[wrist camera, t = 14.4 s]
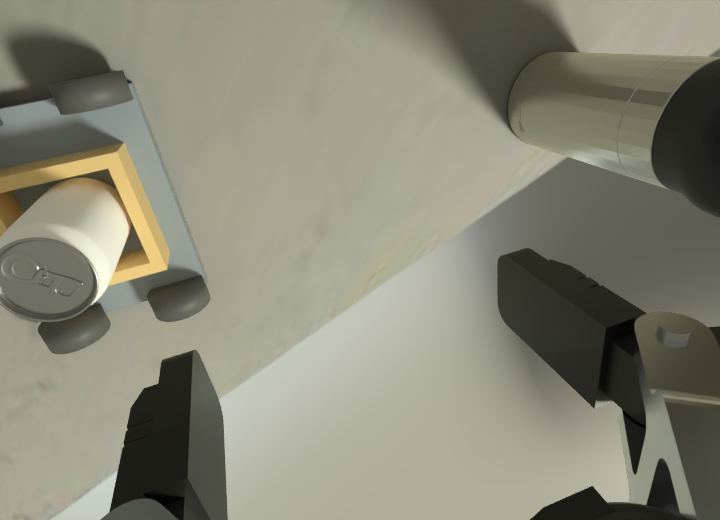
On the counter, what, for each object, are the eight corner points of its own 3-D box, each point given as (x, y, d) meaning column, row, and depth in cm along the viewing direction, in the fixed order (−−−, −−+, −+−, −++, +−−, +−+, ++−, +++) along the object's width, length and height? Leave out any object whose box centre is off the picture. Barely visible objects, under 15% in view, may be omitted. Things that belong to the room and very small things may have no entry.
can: (67, 159, 34) (9, 209, 24) (148, 204, 38) (127, 265, 27) (27, 224, 36) (-46, 299, 25) (108, 263, 39) (73, 343, 28)
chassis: (127, 68, 34) (116, 72, 30) (210, 284, 44) (210, 311, 40) (-78, 106, 32) (-122, 117, 27) (58, 328, 41) (41, 361, 37)
